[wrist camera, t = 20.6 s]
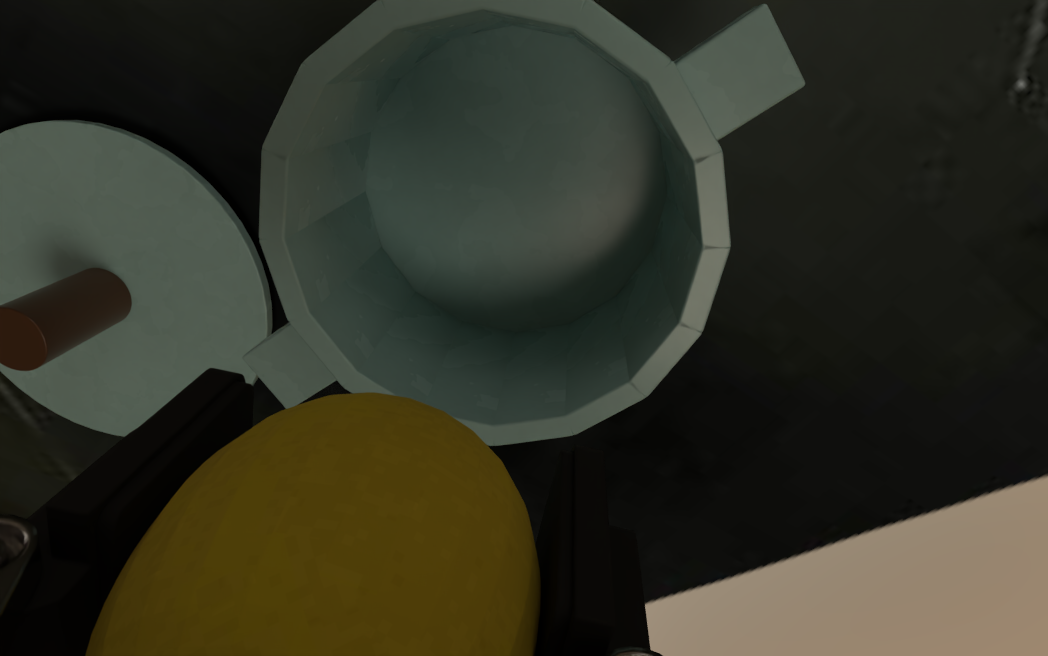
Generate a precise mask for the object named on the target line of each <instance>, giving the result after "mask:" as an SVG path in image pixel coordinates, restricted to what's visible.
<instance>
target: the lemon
mask: <svg viewBox="0 0 1048 656" xmlns="http://www.w3.org/2000/svg"><path fill="white" fill-rule="evenodd" d="M540 606H541V581H540V568H539V563H538V557H537V551H536V547H535V542H534V538H533V533H532V529H531V524H530V520H529V516H528V513H527V510H526V506H525V503H524V501H523V500H522V498H521V496H520V494H519V492H518V490H517V488H516V487H515V485H514V483H513V481H512V479H511V477H510V475H509V474H508V472H507V470H506V468H505V466H504V464H503V463H502V461H501V460H500V459H499V458H498V457H497V456H496V455H495V453H494V452H493V451H492V450H491V449H490V448H489V447H488V446H487V445H486V444H485V443H484V442H483V441H482V440H481V438H480V437H479V436H478V435H477V434H476V433H475V432H474V431H473V430H471V429H470V428H468V427H467V426H465V425H464V424H462V423H461V422H459V421H458V420H456V419H455V418H453V417H452V416H450V415H449V414H447V413H446V412H444V411H442V410H440V409H437V408H434V407H432V406H429V405H427V404H424V403H422V402H419V401H416V400H414V399H411V398H407V397H400V396H394V395H388V394H382V393H375V392H366V393H353V394H339V395H329V396H326V397H322V398H319V399H315V400H312V401H309V402H306V403H303V404H300V405H297V406H294V407H291V408H288V409H285V410H282V411H280V412H278V413H276V414H274V415H272V416H270V417H268V418H266V419H264V420H263V421H261V422H260V423H259V424H257V425H256V426H254V427H253V428H251V429H250V430H248V431H247V432H245V433H244V434H242V435H241V436H239V437H238V438H236V439H235V440H233V441H232V442H230V443H229V444H227V445H226V446H224V447H223V448H221V449H220V450H218V451H217V452H216V453H215V454H214V455H212V456H211V457H210V458H209V459H208V460H206V461H205V462H204V463H203V464H202V465H201V466H200V467H199V468H198V469H197V470H196V471H195V472H194V473H193V474H192V475H191V476H190V477H189V478H188V479H187V480H186V481H185V482H184V484H183V485H182V486H181V487H180V489H179V490H178V491H177V492H176V494H175V495H174V496H173V497H172V498H171V500H170V501H169V502H168V504H167V505H166V506H165V508H164V509H163V510H162V512H161V513H160V514H159V516H158V517H157V518H156V520H155V521H154V522H153V524H152V525H151V526H150V527H149V529H148V530H147V532H146V533H145V534H144V536H143V537H142V539H141V540H140V542H139V543H138V545H137V546H136V548H135V549H134V550H133V552H132V554H131V555H130V557H129V559H128V560H127V562H126V564H125V566H124V567H123V569H122V571H121V572H120V574H119V576H118V578H117V580H116V582H115V583H114V585H113V587H112V589H111V591H110V593H109V595H108V597H107V599H106V601H105V603H104V606H103V608H102V610H101V613H100V615H99V618H98V620H97V622H96V625H95V627H94V629H93V632H92V634H91V638H90V641H89V644H88V648H87V651H86V655H85V656H535V652H536V644H537V636H538V627H539V618H540Z"/></svg>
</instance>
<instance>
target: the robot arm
mask: <svg viewBox="0 0 1048 656" xmlns="http://www.w3.org/2000/svg"><path fill="white" fill-rule="evenodd" d="M252 418H253V386H252V385H251V384H249V383H246V382H245V378H244V376H243V375H242V374H240V373H235V372H230V371H225V370H221V369H216V368H209V369H207V370H206V371H205V372H203V373H202V374H201V375H200V376H199V377H197V378H196V379H195V380H194V381H193V382H192V383H190V384H189V385H188V386H187V387H186V388H184V389H183V390H182V391H181V392H180V393H179V394H177V395H176V396H175V397H174V398H173V399H171V400H170V401H169V402H168V403H167V404H165V405H164V406H163V407H162V408H161V409H160V410H158V411H157V412H156V413H155V414H154V415H152V416H151V417H150V418H149V419H148V420H146V421H145V422H144V423H143V424H142V425H141V426H139V427H138V428H136V429H135V430H133V431H132V432H130V433H129V434H128V435H126V436H125V437H124V438H123V439H122V440H120V441H119V442H118V443H117V444H116V445H115V446H113V447H112V448H111V449H110V450H109V451H107V452H106V453H105V454H104V455H103V456H101V457H100V458H99V459H98V460H97V461H95V462H94V463H93V464H92V465H91V466H90V467H88V468H87V469H86V470H85V471H84V472H82V473H81V474H80V475H79V476H78V477H76V478H75V479H74V480H73V481H72V482H70V483H69V484H68V485H67V486H66V487H64V488H63V489H62V490H61V491H60V492H59V493H57V494H56V495H55V496H54V497H53V498H51V499H50V500H49V501H48V502H47V503H45V504H44V505H43V506H42V507H41V508H39V509H38V510H37V511H36V512H35V513H34V514H32V515H31V516H30V517H29V518H28V519H24V518H21V517H18V516H15V515H6V514H0V656H85V655H86V651H87V648H88V644H89V641H90V638H91V634H92V632H93V629H94V627H95V625H96V622H97V620H98V618H99V615H100V613H101V610H102V608H103V606H104V603H105V601H106V599H107V597H108V595H109V593H110V591H111V589H112V587H113V585H114V583H115V582H116V580H117V578H118V576H119V574H120V572H121V571H122V569H123V567H124V566H125V564H126V562H127V560H128V559H129V557H130V555H131V554H132V552H133V550H134V549H135V548H136V546H137V545H138V543H139V542H140V540H141V539H142V537H143V536H144V534H145V533H146V532H147V530H148V529H149V527H150V526H151V525H152V524H153V522H154V521H155V520H156V518H157V517H158V516H159V514H160V513H161V512H162V510H163V509H164V508H165V506H166V505H167V504H168V502H169V501H170V500H171V498H172V497H173V496H174V495H175V494H176V492H177V491H178V490H179V489H180V487H181V486H182V485H183V484H184V482H185V481H186V480H187V479H188V478H189V477H190V476H191V475H192V474H193V473H194V472H195V471H196V470H197V469H198V468H199V467H200V466H201V465H202V464H203V463H204V462H205V461H206V460H208V459H209V458H210V457H211V456H212V455H214V454H215V453H216V452H217V451H218V450H220V449H221V448H223V447H224V446H226V445H227V444H229V443H230V442H232V441H233V440H235V439H236V438H238V437H239V436H241V435H242V434H244V433H245V432H247V431H248V430H250V429H251V428H252ZM535 547H536V551H537V557H538V563H539V568H540V581H541V606H540V618H539V627H538V636H537V644H536V652H535V656H662V655H661V654H659V653H657V652H654V651H651V650H650V644H649V635H648V627H647V619H646V611H645V603H644V595H643V587H642V579H641V571H640V563H639V555H638V547H637V539H636V535H635V533H634V531H632V530H628V529H623V528H618V527H613V526H609V522H608V507H607V493H606V478H605V463H604V452H603V451H601V450H596V449H592V448H587V447H582V446H578V445H574V446H573V448H572V450H571V452H568V451H563V450H561V452H560V455H559V458H558V462H557V466H556V470H555V473H554V477H553V481H552V485H551V488H550V492H549V496H548V500H547V504H546V507H545V511H544V515H543V519H542V522H541V526H540V530H539V534H538V538H537V541H536V545H535Z"/></svg>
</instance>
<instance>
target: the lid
mask: <svg viewBox="0 0 1048 656" xmlns="http://www.w3.org/2000/svg"><path fill="white" fill-rule="evenodd" d="M271 333H272V303H271V297H270V291H269V285H268V281H267V278H266V275H265V271H264V268H263V264H262V262H261V259H260V257H259V255H258V253H257V250H256V248H255V246H254V243H253V241H252V240H251V238H250V236H249V234H248V233H247V231H246V229H245V227H244V226H243V224H242V222H241V221H240V219H239V218H238V217H237V215H236V214H235V213H234V211H233V210H232V208H231V207H230V206H229V204H228V203H227V202H226V201H225V200H224V198H223V197H222V196H221V195H220V194H219V193H218V192H217V191H216V190H215V189H214V187H213V186H212V185H211V184H210V183H209V182H208V181H207V180H205V179H204V178H203V177H202V176H201V175H200V174H199V173H198V172H196V171H195V170H194V169H193V168H192V167H191V166H189V165H188V164H186V163H185V162H184V161H182V160H181V159H179V158H178V157H177V156H175V155H174V154H172V153H171V152H169V151H168V150H166V149H164V148H162V147H160V146H159V145H157V144H155V143H153V142H151V141H150V140H148V139H145V138H143V137H141V136H138V135H136V134H133V133H131V132H128V131H126V130H123V129H120V128H116V127H112V126H109V125H105V124H102V123H95V122H88V121H81V120H51V121H44V122H37V123H30V124H25V125H22V126H19V127H15V128H12V129H9V130H6V131H4V132H2V133H0V371H1V372H2V373H3V374H4V375H5V376H6V377H7V378H8V379H9V380H10V381H12V382H13V383H14V384H15V385H16V386H17V387H18V388H19V389H21V390H22V391H23V392H25V393H26V394H27V395H29V396H30V397H31V398H33V399H34V400H35V401H37V402H38V403H40V404H42V405H43V406H45V407H46V408H48V409H50V410H51V411H53V412H55V413H56V414H58V415H61V416H63V417H65V418H67V419H69V420H71V421H73V422H75V423H78V424H80V425H83V426H86V427H88V428H91V429H93V430H97V431H101V432H105V433H108V434H112V435H118V436H124V437H125V436H126V435H128V434H129V433H130V432H132V431H133V430H135V429H136V428H138V427H139V426H141V425H142V424H143V423H144V422H145V421H146V420H148V419H149V418H150V417H151V416H152V415H154V414H155V413H156V412H157V411H158V410H160V409H161V408H162V407H163V406H164V405H165V404H167V403H168V402H169V401H170V400H171V399H173V398H174V397H175V396H176V395H177V394H179V393H180V392H181V391H182V390H183V389H184V388H186V387H187V386H188V385H189V384H190V383H192V382H193V381H194V380H195V379H196V378H197V377H199V376H200V375H201V374H202V373H203V372H205V371H206V370H207V369H209V368H216V369H221V370H225V371H230V372H235V373H240V374H242V375H243V376H244V378H245V382H246V383H249V384H251V385H252V386H253V385H254V383H255V382H256V380H257V379H258V376H257V375H256V373H255V372H254V371H253V370H252V369H251V368H250V367H249V366H248V364H247V363H246V362H245V361H244V360H243V358H242V357H243V356H244V355H245V354H246V353H247V352H248V351H249V350H251V349H252V348H253V347H254V346H255V345H257V344H258V343H260V342H261V341H263V340H264V339H266V338H267V337H269V336H270V335H271Z"/></svg>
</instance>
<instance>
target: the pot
mask: <svg viewBox="0 0 1048 656" xmlns="http://www.w3.org/2000/svg"><path fill="white" fill-rule="evenodd" d="M804 85H805V81H804V79H803V77H802V75H801V73H800V71H799V69H798V67H797V65H796V63H795V60H794V58H793V56H792V54H791V52H790V50H789V48H788V46H787V44H786V42H785V40H784V38H783V36H782V34H781V32H780V30H779V28H778V26H777V24H776V22H775V20H774V18H773V16H772V14H771V12H770V10H769V8H768V6H767V5H766V4H761V5H758V6H755V7H753V8H752V9H750V10H749V11H747V12H746V13H744V14H743V15H741V16H740V17H738V18H737V19H735V20H734V21H733V22H731V23H730V24H728V25H727V26H725V27H724V28H722V29H721V30H719V31H718V32H716V33H715V34H713V35H712V36H710V37H709V38H707V39H706V40H705V41H703V42H702V43H700V44H699V45H697V46H696V47H694V48H693V49H691V50H690V51H688V52H687V53H685V54H684V55H682V56H681V57H679V58H678V59H677V60H675V61H674V62H673V61H671V59H670V58H669V57H668V56H667V55H665V54H664V53H663V52H661V51H660V50H659V49H657V48H656V47H655V46H653V45H652V44H651V43H649V42H648V41H647V40H645V39H644V38H643V37H641V36H640V35H639V34H637V33H636V32H635V31H633V30H632V29H631V28H629V27H628V26H627V25H625V24H624V23H623V22H621V21H620V20H619V19H617V18H616V17H615V16H613V15H612V14H611V13H609V12H608V11H607V10H605V9H604V8H603V7H601V6H600V5H599V4H597V3H596V2H595V1H593V0H377V1H375V2H374V3H373V4H372V5H371V6H369V7H368V8H367V9H366V10H365V11H363V12H362V13H361V14H360V15H358V16H357V17H356V18H355V19H354V20H352V21H351V22H350V23H349V24H348V25H346V26H345V27H344V28H343V29H341V30H340V31H339V32H338V33H337V34H335V35H334V36H333V37H332V38H331V39H329V40H328V41H327V42H326V43H324V44H323V45H322V46H321V47H320V48H318V49H317V50H316V51H315V52H314V53H312V54H311V55H310V56H309V57H307V58H306V59H305V60H304V63H301V65H300V68H299V70H298V72H297V74H296V76H295V78H294V80H293V82H292V84H291V86H290V89H289V91H288V93H287V95H286V97H285V99H284V101H283V103H282V105H281V108H280V110H279V112H278V114H277V116H276V118H275V120H274V122H273V124H272V126H271V129H270V131H269V133H268V135H267V137H266V139H265V141H264V143H263V145H262V148H263V149H262V154H261V184H260V214H259V239H260V240H259V242H260V245H261V247H262V250H263V253H264V256H265V258H266V261H267V264H268V267H269V270H270V272H271V275H272V278H273V281H274V284H275V286H276V289H277V292H278V295H279V297H280V300H281V303H282V306H283V309H284V311H285V314H286V317H287V320H288V321H289V323H288V324H286V325H285V326H283V327H282V328H280V329H279V330H277V331H276V332H274V333H273V334H271V335H270V336H269V337H267V338H266V339H264V340H263V341H261V342H260V343H258V344H257V345H255V346H254V347H253V348H252V349H251V350H249V351H248V352H247V353H246V354H245V355H244V356H243V357H242V358H243V360H244V361H245V362H246V363H247V364H248V366H249V367H250V368H251V369H252V370H253V371H254V372H255V373H256V375H257V376H258V377H259V378H260V379H261V380H262V381H263V383H264V384H265V385H266V386H267V387H268V388H269V389H270V391H271V392H272V393H273V394H274V395H275V396H276V397H277V399H278V400H279V401H280V402H281V403H282V404H283V405H284V407H285V408H286V409H288V408H291V407H294V406H296V405H298V404H299V403H301V402H303V401H304V400H306V399H307V398H309V397H311V396H312V395H314V394H315V393H317V392H319V391H320V390H322V389H323V388H325V387H327V386H328V385H330V384H331V383H333V382H334V381H336V380H337V381H338V382H339V383H340V384H341V385H342V386H343V387H344V388H345V389H346V390H348V391H350V392H351V393H366V392H375V393H382V394H388V395H394V396H400V397H407V398H411V399H414V400H416V401H419V402H422V403H424V404H427V405H429V406H432V407H434V408H437V409H440V410H442V411H444V412H446V413H447V414H449V415H450V416H452V417H453V418H455V419H456V420H458V421H459V422H461V423H462V424H464V425H465V426H467V427H468V428H470V429H471V430H473V431H474V432H475V433H476V434H477V435H478V436H479V437H480V438H481V440H482V441H483V442H484V443H485V444H486V445H489V446H493V445H494V446H498V445H506V444H513V443H521V442H528V441H536V440H544V439H551V438H559V437H567V436H572V435H573V434H574V435H576V434H578V433H580V432H582V431H584V430H586V429H587V428H589V427H591V426H593V425H595V424H597V423H599V422H601V421H603V420H605V419H606V418H608V417H610V416H612V415H614V414H616V413H618V412H620V411H622V410H624V409H625V408H627V407H629V406H631V405H633V404H635V403H637V402H639V401H641V400H643V399H644V398H645V397H648V395H649V394H650V393H651V392H652V391H653V390H654V389H655V387H656V386H657V385H658V384H659V383H660V382H661V380H662V379H663V378H664V377H665V376H666V375H667V373H668V372H669V371H670V370H671V369H672V368H673V367H674V365H675V364H676V363H677V362H678V361H679V360H680V358H681V357H682V356H683V355H684V354H685V353H686V351H687V350H688V349H689V348H690V347H691V346H692V345H693V343H694V342H695V341H696V340H697V339H698V338H699V336H700V335H701V334H702V332H703V330H704V327H705V324H706V321H707V318H708V315H709V312H710V309H711V306H712V303H713V300H714V296H715V293H716V290H717V287H718V284H719V281H720V278H721V275H722V272H723V269H724V266H725V263H726V260H727V257H728V254H729V251H730V246H731V240H730V229H729V217H728V206H727V194H726V183H725V172H724V160H723V152H722V148H721V147H720V145H719V143H718V140H719V139H721V138H723V137H724V136H726V135H727V134H729V133H731V132H732V131H734V130H735V129H737V128H739V127H740V126H742V125H743V124H745V123H747V122H748V121H750V120H751V119H753V118H754V117H756V116H758V115H759V114H761V113H762V112H764V111H766V110H767V109H769V108H770V107H772V106H774V105H775V104H777V103H778V102H780V101H782V100H783V99H785V98H786V97H788V96H790V95H791V94H793V93H794V92H796V91H797V90H799V89H801V88H802V87H804Z"/></svg>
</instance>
